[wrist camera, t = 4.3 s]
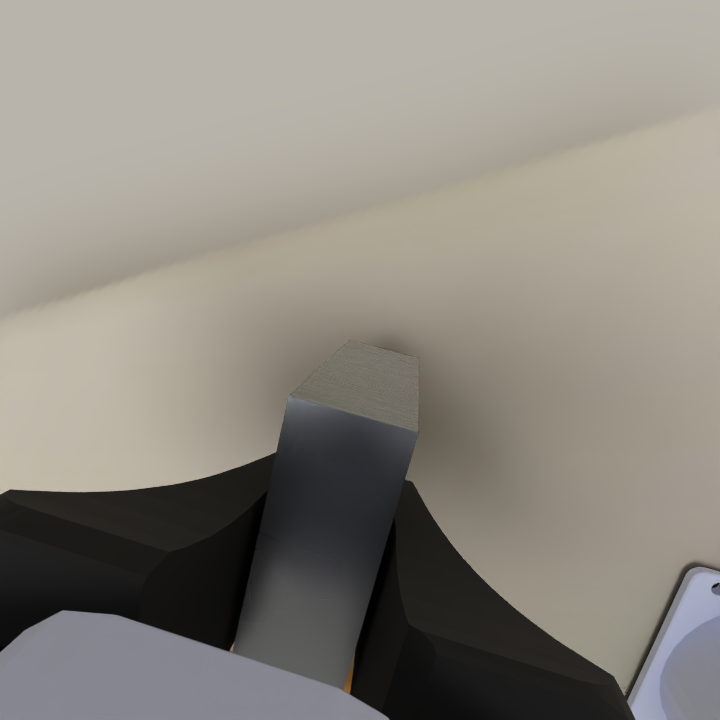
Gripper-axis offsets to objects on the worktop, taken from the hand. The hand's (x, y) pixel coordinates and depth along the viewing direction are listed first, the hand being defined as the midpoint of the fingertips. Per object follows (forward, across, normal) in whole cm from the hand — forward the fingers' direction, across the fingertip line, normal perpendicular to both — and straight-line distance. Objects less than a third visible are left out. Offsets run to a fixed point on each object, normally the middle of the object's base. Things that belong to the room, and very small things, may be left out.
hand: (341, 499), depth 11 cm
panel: (+2, 0, 0) cm, 2 cm away
